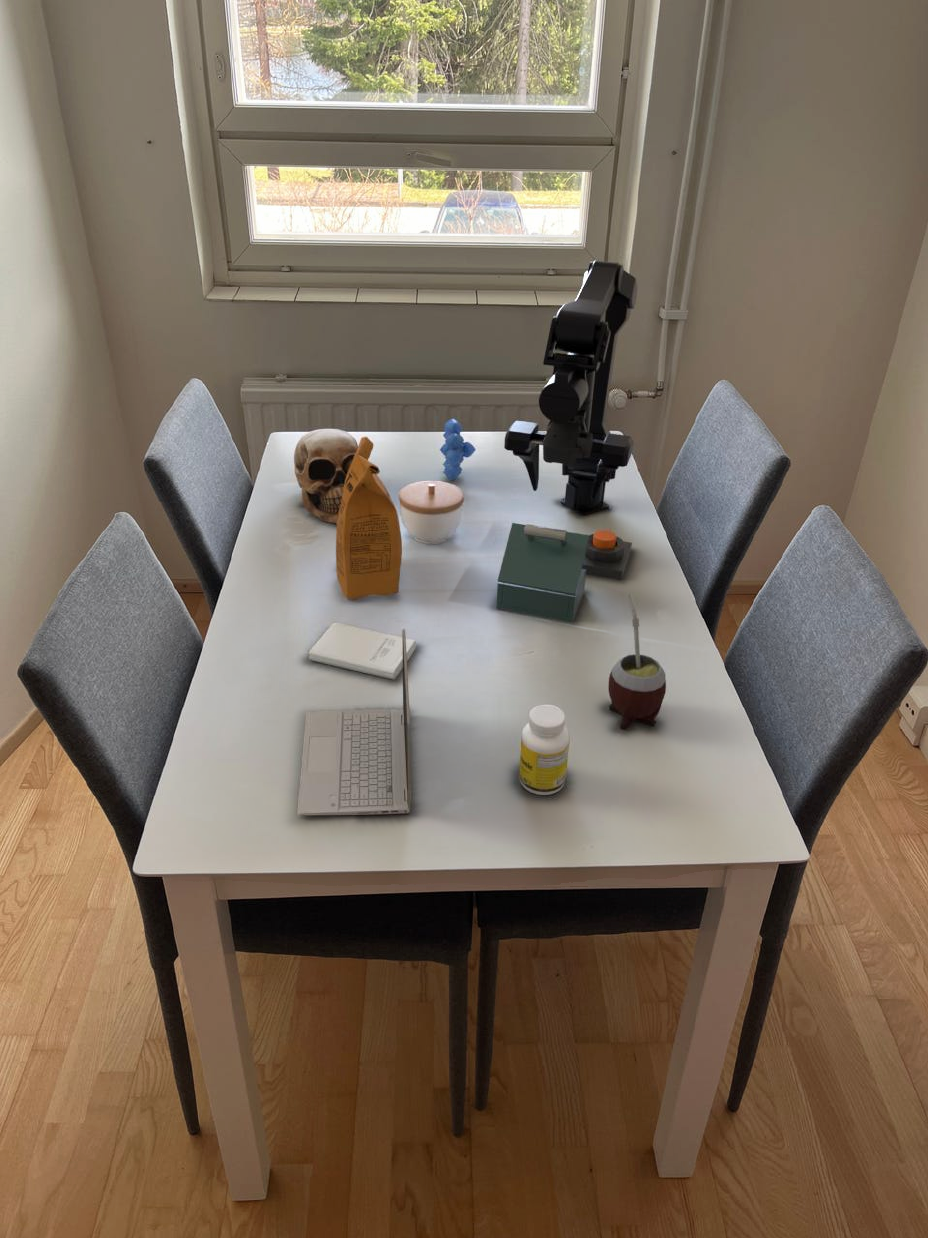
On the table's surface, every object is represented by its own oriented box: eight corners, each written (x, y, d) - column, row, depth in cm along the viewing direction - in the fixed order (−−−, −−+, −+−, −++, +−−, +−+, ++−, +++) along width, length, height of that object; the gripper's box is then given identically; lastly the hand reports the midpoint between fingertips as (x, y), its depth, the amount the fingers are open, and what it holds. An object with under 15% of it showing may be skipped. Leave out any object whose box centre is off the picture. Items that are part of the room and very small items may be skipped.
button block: (583, 543, 158) (585, 525, 156) (630, 551, 156) (633, 532, 155) (571, 571, 150) (573, 552, 148) (621, 580, 148) (623, 561, 146)
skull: (347, 528, 160) (339, 452, 154) (270, 512, 168) (259, 440, 162) (400, 498, 172) (394, 426, 165) (325, 484, 180) (317, 416, 174)
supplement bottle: (515, 765, 112) (520, 700, 106) (560, 764, 112) (567, 699, 107) (521, 798, 107) (527, 731, 102) (568, 796, 108) (576, 730, 102)
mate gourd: (646, 741, 116) (664, 641, 108) (588, 719, 119) (601, 620, 111) (669, 710, 121) (687, 612, 113) (613, 689, 125) (627, 592, 116)
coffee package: (399, 560, 152) (397, 431, 140) (404, 601, 142) (402, 465, 130) (337, 562, 151) (330, 432, 139) (337, 603, 141) (329, 467, 128)
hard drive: (335, 630, 135) (416, 648, 131) (309, 661, 128) (393, 681, 125) (334, 620, 134) (416, 638, 131) (308, 651, 127) (393, 671, 124)
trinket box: (465, 523, 163) (467, 473, 158) (459, 553, 154) (460, 501, 149) (404, 519, 164) (404, 469, 159) (394, 548, 155) (393, 496, 150)
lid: (512, 524, 141) (509, 511, 137) (589, 536, 138) (587, 524, 134) (498, 582, 138) (493, 570, 134) (575, 595, 136) (573, 584, 132)
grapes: (476, 492, 174) (479, 430, 167) (440, 492, 173) (441, 430, 167) (472, 466, 184) (474, 407, 177) (438, 466, 183) (438, 407, 177)
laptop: (306, 715, 118) (299, 629, 111) (406, 712, 119) (406, 627, 112) (297, 819, 103) (288, 727, 96) (411, 814, 104) (411, 723, 97)
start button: (594, 537, 154) (596, 528, 153) (616, 541, 153) (618, 532, 152) (590, 548, 151) (591, 538, 150) (613, 551, 150) (614, 542, 149)
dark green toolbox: (511, 580, 148) (512, 556, 145) (583, 593, 145) (586, 569, 143) (496, 608, 141) (497, 583, 138) (572, 622, 138) (575, 597, 136)
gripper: (496, 408, 134) (492, 507, 142) (627, 426, 129) (614, 527, 138) (516, 383, 143) (511, 477, 151) (639, 398, 138) (626, 495, 147)
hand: (564, 494), depth 147 cm, fingers open, 9 cm apart
